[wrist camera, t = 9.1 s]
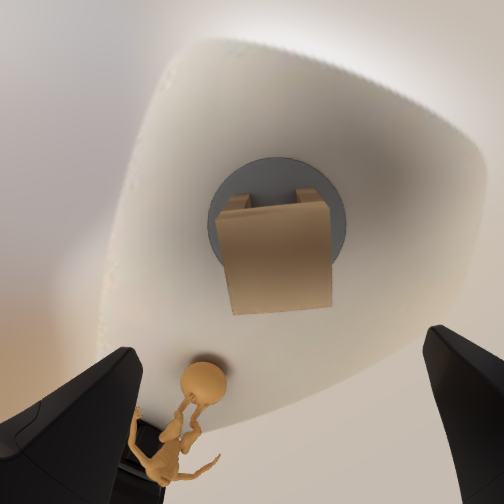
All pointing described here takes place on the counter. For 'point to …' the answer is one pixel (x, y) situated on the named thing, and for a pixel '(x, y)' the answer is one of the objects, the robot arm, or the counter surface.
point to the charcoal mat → (277, 194)
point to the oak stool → (277, 254)
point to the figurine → (198, 392)
